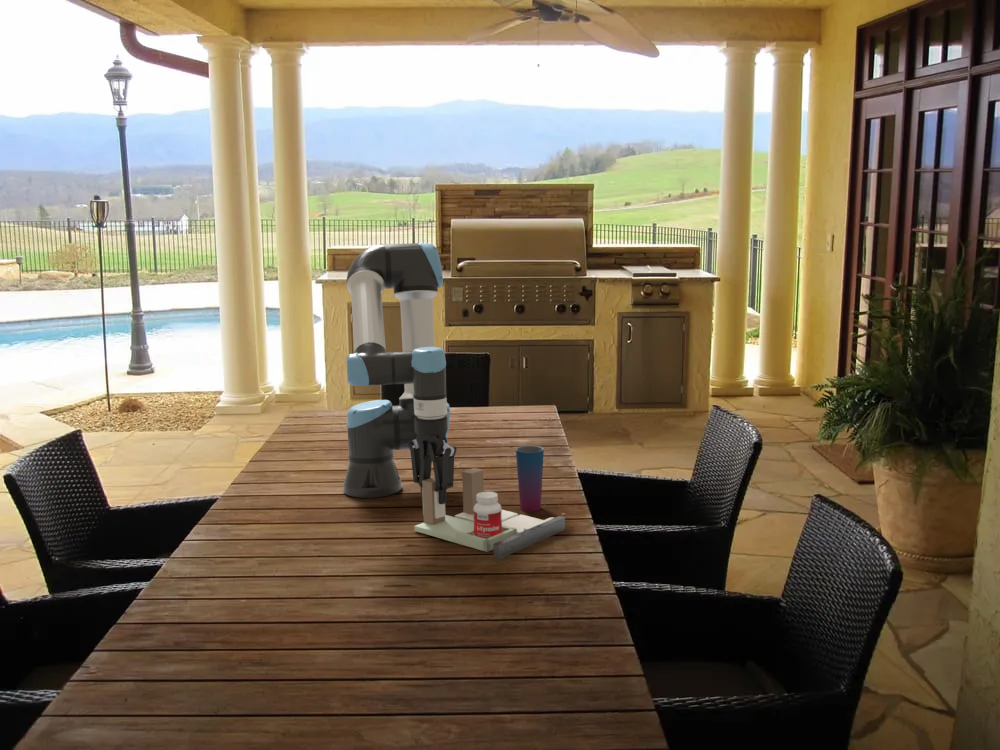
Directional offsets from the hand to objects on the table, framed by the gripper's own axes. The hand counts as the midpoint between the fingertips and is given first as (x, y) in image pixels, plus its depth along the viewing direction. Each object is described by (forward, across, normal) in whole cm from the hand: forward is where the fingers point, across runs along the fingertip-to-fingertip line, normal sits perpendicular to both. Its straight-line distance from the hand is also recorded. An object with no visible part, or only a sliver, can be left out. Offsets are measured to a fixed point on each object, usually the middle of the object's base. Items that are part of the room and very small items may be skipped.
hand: (434, 515), depth 218 cm
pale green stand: (+3, +10, 0) cm, 10 cm away
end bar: (+3, +24, +5) cm, 25 cm away
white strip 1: (+3, +6, +11) cm, 13 cm away
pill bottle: (+3, +16, 0) cm, 17 cm away
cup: (+3, +9, +24) cm, 26 cm away
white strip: (+3, +18, +11) cm, 21 cm away
